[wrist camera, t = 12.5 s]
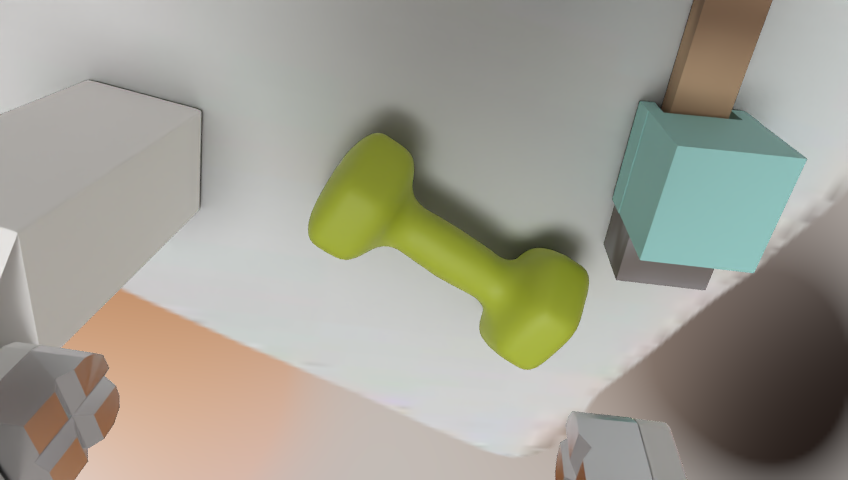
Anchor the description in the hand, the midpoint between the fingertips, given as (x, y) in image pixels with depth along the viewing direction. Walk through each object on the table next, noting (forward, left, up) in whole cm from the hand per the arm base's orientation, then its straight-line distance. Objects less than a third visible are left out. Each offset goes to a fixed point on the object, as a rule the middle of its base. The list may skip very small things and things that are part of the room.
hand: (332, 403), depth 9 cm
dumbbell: (+10, +2, -24) cm, 26 cm away
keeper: (+4, +14, -24) cm, 28 cm away
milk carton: (+6, -18, -24) cm, 31 cm away
